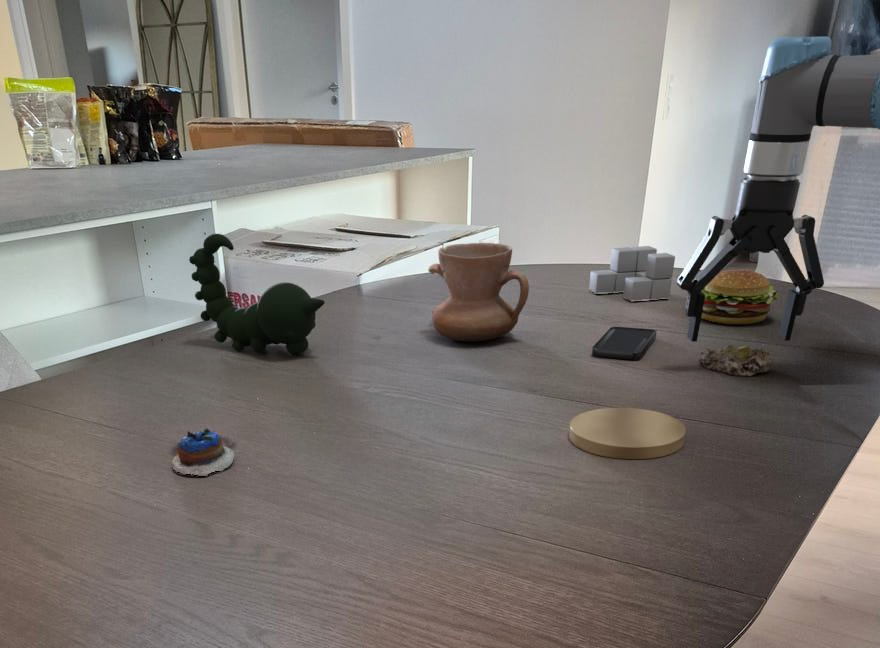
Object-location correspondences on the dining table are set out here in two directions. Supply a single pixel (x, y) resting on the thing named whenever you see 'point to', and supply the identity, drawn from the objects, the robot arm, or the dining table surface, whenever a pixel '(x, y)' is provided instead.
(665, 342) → the dining table surface
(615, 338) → the phone
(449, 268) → the ceramic jug
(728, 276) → the food
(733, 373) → the mineral rock
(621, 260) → the puzzle cube
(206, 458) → the dessert
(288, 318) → the toy figurine
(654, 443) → the wood disc
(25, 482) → the dining table surface
